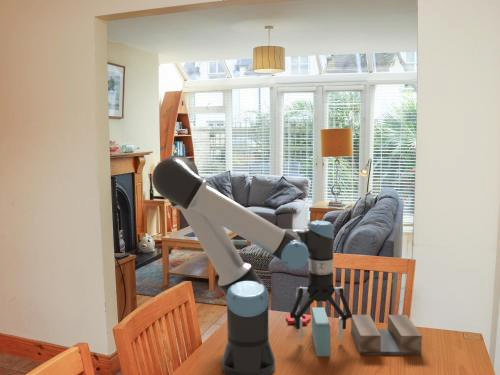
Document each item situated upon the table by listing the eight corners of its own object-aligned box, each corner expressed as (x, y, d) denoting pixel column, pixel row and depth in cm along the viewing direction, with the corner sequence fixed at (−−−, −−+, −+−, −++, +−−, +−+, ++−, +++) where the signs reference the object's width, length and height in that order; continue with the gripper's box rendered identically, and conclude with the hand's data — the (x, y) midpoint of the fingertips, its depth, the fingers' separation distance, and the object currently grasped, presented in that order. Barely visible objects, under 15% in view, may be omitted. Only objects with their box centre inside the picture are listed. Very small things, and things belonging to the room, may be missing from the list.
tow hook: (286, 315, 175) (284, 324, 166) (287, 280, 174) (285, 288, 165) (310, 316, 174) (309, 326, 164) (310, 281, 173) (309, 289, 163)
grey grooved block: (360, 354, 143) (360, 335, 142) (351, 332, 159) (351, 314, 158) (421, 355, 142) (421, 335, 142) (405, 332, 158) (406, 314, 157)
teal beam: (330, 356, 142) (330, 327, 141) (316, 356, 143) (316, 327, 142) (324, 333, 158) (324, 307, 157) (311, 333, 158) (312, 307, 157)
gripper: (282, 275, 144) (282, 343, 147) (362, 275, 143) (361, 344, 146) (281, 267, 152) (281, 333, 154) (358, 267, 151) (357, 333, 153)
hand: (320, 338), depth 150 cm, fingers open, 12 cm apart
